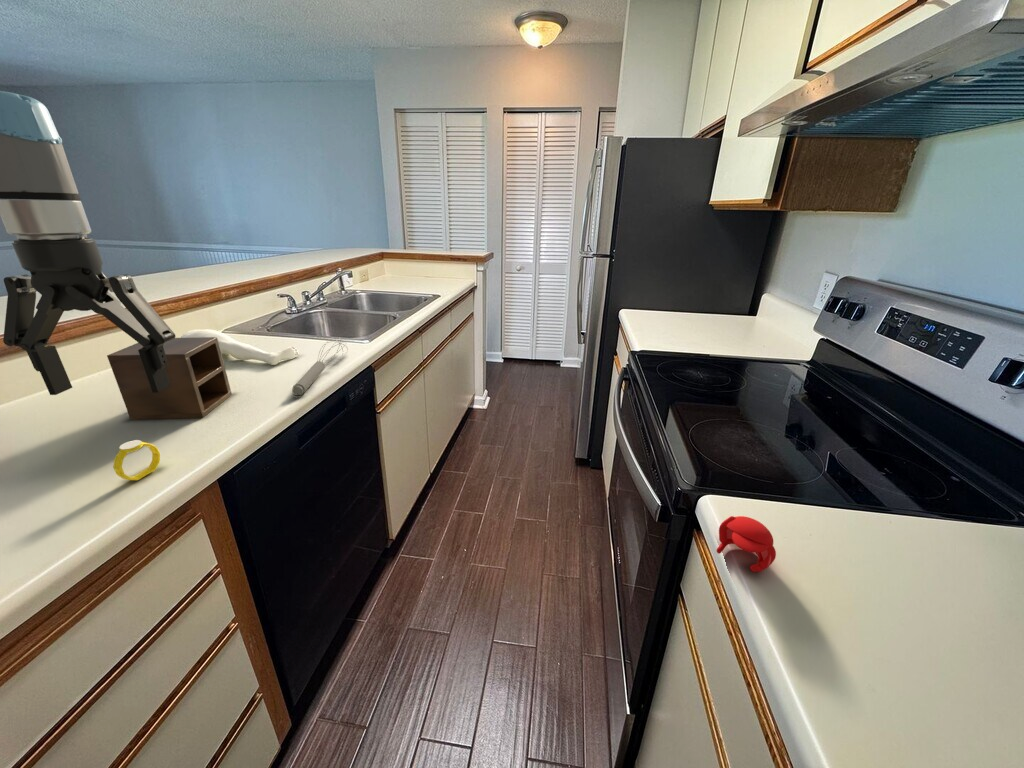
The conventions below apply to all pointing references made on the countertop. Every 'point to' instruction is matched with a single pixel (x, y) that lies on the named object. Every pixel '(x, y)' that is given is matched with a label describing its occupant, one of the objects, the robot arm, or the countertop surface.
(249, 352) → the leg
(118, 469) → the watch
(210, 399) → the shelf
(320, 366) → the kitchen whisk
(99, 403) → the countertop surface
